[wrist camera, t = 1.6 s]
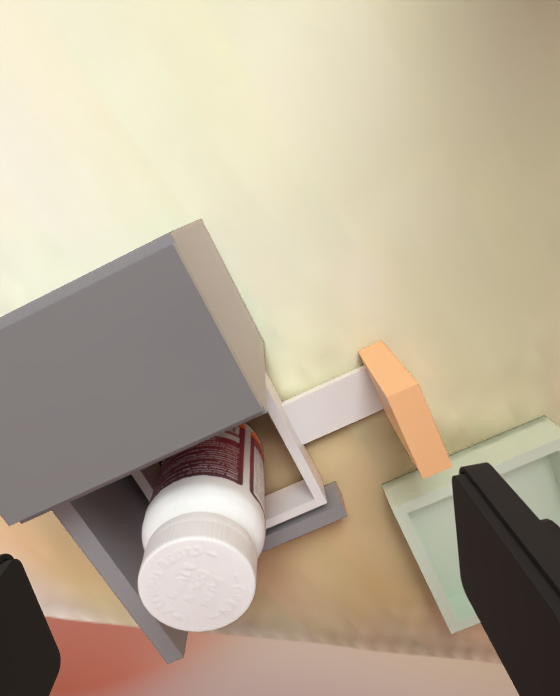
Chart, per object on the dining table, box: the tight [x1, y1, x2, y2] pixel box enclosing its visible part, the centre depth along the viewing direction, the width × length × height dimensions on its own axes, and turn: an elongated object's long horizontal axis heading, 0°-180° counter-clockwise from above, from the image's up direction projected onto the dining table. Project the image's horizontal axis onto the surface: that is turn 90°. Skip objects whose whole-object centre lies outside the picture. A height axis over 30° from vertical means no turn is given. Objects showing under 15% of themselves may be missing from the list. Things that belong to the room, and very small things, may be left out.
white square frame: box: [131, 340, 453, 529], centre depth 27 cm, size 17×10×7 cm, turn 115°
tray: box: [382, 416, 560, 634], centre depth 33 cm, size 12×12×3 cm
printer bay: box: [0, 219, 347, 664], centre depth 25 cm, size 12×20×11 cm, turn 25°
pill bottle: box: [138, 423, 266, 632], centre depth 26 cm, size 6×6×11 cm
